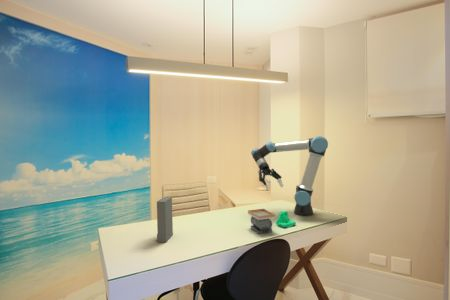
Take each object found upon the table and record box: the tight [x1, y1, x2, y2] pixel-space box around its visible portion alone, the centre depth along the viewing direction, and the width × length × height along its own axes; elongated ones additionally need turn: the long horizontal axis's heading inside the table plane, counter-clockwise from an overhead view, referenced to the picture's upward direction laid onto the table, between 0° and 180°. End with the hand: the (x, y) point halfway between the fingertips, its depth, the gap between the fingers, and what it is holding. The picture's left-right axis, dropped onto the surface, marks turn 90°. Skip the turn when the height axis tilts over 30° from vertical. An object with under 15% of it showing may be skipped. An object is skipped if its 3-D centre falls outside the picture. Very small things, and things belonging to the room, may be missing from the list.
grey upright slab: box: [156, 196, 174, 243], centre depth 172 cm, size 14×6×25 cm, turn 174°
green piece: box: [275, 209, 297, 229], centre depth 194 cm, size 12×8×10 cm, turn 120°
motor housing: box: [247, 208, 276, 235], centre depth 185 cm, size 12×16×12 cm
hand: (275, 187), depth 203 cm, fingers open, 13 cm apart
